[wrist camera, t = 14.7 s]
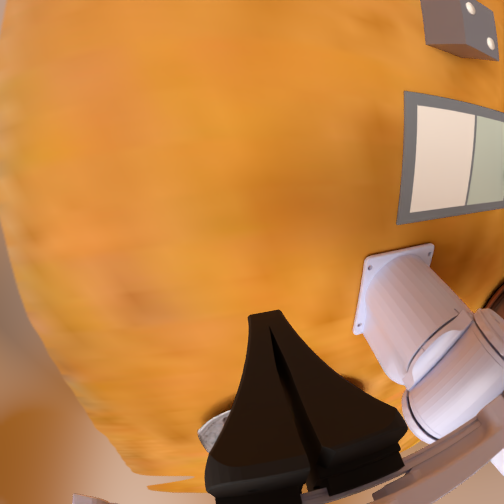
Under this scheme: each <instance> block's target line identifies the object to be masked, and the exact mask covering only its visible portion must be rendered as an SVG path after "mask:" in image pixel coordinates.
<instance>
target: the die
mask: <svg viewBox="0 0 504 504" xmlns="http://www.w3.org/2000/svg"><path fill="white" fill-rule="evenodd" d="M420 1H421V8H422V14H423V22H424V31H425V41H426V45H429V46H432V47H435V48H438V49H440V50H443V51H446V52H449V53H451V54H454V55H456V56H459V57H461V58H474V59H485V60H493V61H499V53H498V43H497V34H496V27H495V21H494V15H493V12H492V11H491V10H490V9H488V8H487V7H485V6H484V5H482V4H481V3H479V2H477V1H476V0H420Z"/></svg>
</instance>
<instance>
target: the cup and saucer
mask: <svg viewBox="0 0 504 504" xmlns="http://www.w3.org/2000/svg"><path fill="white" fill-rule="evenodd" d="M485 308H489V309H491V310H493V311H494V312H496V313H497V314H498V315H499V316H500V317H501V318H503V319H504V284H503V285H502V286H501V287H500V288H499V289H498V290H497V292H496V293H495V294H494V295H493V296H492V298H491V299H490V301H489V302H488V304H487V305H486V307H485Z"/></svg>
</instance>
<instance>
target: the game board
mask: <svg viewBox="0 0 504 504" xmlns="http://www.w3.org/2000/svg"><path fill="white" fill-rule="evenodd" d="M501 208H504V113H502V112H499V111H496V110H492V109H489V108H485V107H482V106H478V105H474V104H470V103H466V102H462V101H457V100H453V99H448V98H443V97H438V96H433V95H427V94H421V93H415V92H408V91H404V145H403V163H402V177H401V188H400V197H399V206H398V214H397V222H396V224H397V225H401V224H407V223H413V222H419V221H426V220H432V219H438V218H444V217H451V216H457V215H463V214H470V213H476V212H482V211H488V210H495V209H501Z"/></svg>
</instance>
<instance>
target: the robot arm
mask: <svg viewBox="0 0 504 504" xmlns="http://www.w3.org/2000/svg"><path fill="white" fill-rule="evenodd" d="M433 252H434V245H433V244H432V243H428V244H424V245H419V246H414V247H410V248H405V249H400V250H395V251H390V252H386V253H381V254H376V255H371V256H368V257H367V258H366V259H365V261H364V267H363V274H362V281H361V287H360V293H359V299H358V305H357V311H356V316H355V321H354V326H353V333H354V334H355V335H358V334H361V333H363V335H364V337H365V338H366V340H367V342H368V344H369V345H370V347H371V349H372V351H373V352H374V354H375V356H376V358H377V359H378V361H379V363H380V365H381V367H382V369H383V370H384V372H385V373H386V375H387V376H388V377H389V378H390V379H391V380H393V381H394V382H396V383H398V384H401V385H405V387H406V388H407V389H406V390H405V392H404V393H403V396H402V410H403V415H404V418H405V420H404V419H403V417H402V416H401V414H400V413H399V412H398V410H397V409H396V408H395V407H392V406H390V405H388V404H386V403H384V402H382V401H380V400H378V399H376V398H374V397H372V396H371V395H369V394H367V393H365V392H364V391H362V390H361V389H359V388H358V387H356V386H355V385H353V384H352V383H350V382H349V381H347V380H346V379H344V378H343V377H342V376H340V375H339V374H338V373H336V372H335V371H334V370H333V369H332V368H330V367H329V366H328V365H327V364H326V363H325V362H324V361H323V360H321V359H320V358H319V357H318V356H317V355H316V354H315V353H314V352H313V351H312V350H311V349H310V348H309V347H308V345H307V344H306V343H305V342H304V341H303V340H302V339H301V338H300V336H299V335H298V334H297V333H296V332H295V330H294V329H293V328H292V326H291V325H290V324H289V322H288V321H287V320H286V318H285V317H284V315H283V313H282V312H281V311H280V310H274V311H269V312H263V313H258V314H252V315H249V316H248V323H249V337H248V346H247V354H246V360H245V364H244V369H243V374H242V377H241V381H240V385H239V388H238V391H237V394H236V397H235V400H234V403H233V405H232V408H231V411H230V413H229V415H228V417H227V420H226V422H225V424H224V426H223V428H222V431H221V432H220V434H219V436H218V438H217V440H216V442H215V443H214V445H213V447H212V449H211V451H210V452H209V456H208V459H207V463H206V468H205V487H206V491H207V492H208V493H210V494H211V495H213V496H214V497H215V500H216V504H325V503H329V502H332V501H335V500H339V499H341V498H345V497H347V496H351V495H353V494H356V493H359V492H361V491H364V490H367V489H370V488H372V487H375V486H377V485H379V484H382V483H384V482H386V481H389V480H391V479H393V478H395V477H398V476H400V475H402V474H404V473H406V474H405V475H404V476H403V477H401V478H399V479H397V480H395V481H393V482H391V483H389V484H387V485H386V486H384V487H383V488H382V489H380V490H378V491H377V492H375V493H373V494H372V496H373V499H374V501H373V502H370V503H368V504H432V503H434V502H435V501H437V500H439V499H440V498H442V497H443V496H445V495H446V494H448V493H449V492H450V491H452V490H453V489H455V488H456V487H457V486H459V485H460V484H462V483H463V482H464V481H466V480H467V479H468V478H469V477H471V476H472V475H473V474H475V473H476V472H477V471H478V470H480V469H481V468H482V467H483V466H484V465H486V464H487V463H488V462H489V461H491V462H492V464H493V465H494V466H495V467H496V468H497V469H498V470H499V471H500V473H501V474H502V475H503V476H504V319H503V318H501V317H500V316H499V315H498V314H497V313H496V312H494V311H493V310H491V309H489V308H485V309H481V308H480V309H478V310H477V311H476V312H475V313H473V312H472V311H471V310H470V309H469V308H468V307H467V306H466V305H465V303H464V302H463V301H462V300H461V299H460V298H459V297H458V296H457V295H456V294H455V293H454V292H453V291H452V289H451V288H450V287H449V286H448V285H447V284H446V283H445V282H444V281H443V280H442V279H441V278H440V277H439V276H438V275H437V274H436V273H435V272H434V271H433V270H432V269H431V268H430V263H431V259H432V256H433ZM370 265H371V266H370ZM369 266H370V267H369ZM405 421H406V422H405ZM406 423H407V424H406ZM407 425H408V426H407ZM408 427H409V428H410V430H411V431H412V432H413V433H414V435H415V436H417V437H418V438H419V439H420V440H422V441H424V442H426V443H428V444H430V445H428V446H426V447H424V448H422V449H420V450H419V451H416V452H415V453H413V454H410V455H408V456H407V457H404V458H401V455H400V453H399V451H400V450H401V448H400V446H399V444H398V441H399V440H400V439H401V438H402V437H403V436H404V435H405V433H406V432H407V430H408ZM305 483H306V485H307V490H308V492H307V493H303V494H302V491H301V490H302V486H303V484H305ZM73 504H116V503H109V502H108V501H106V500H103V499H100V498H96V497H91V496H85V495H81V494H77V493H74V494H73Z"/></svg>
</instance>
